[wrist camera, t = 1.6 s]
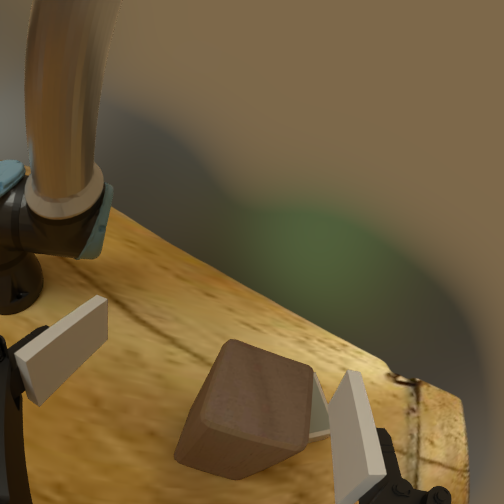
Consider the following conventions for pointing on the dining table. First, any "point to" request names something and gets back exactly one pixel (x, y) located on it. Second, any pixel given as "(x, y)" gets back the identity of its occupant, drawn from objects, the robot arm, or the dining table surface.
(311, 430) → the tray
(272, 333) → the dining table surface
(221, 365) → the block
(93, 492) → the dining table surface
